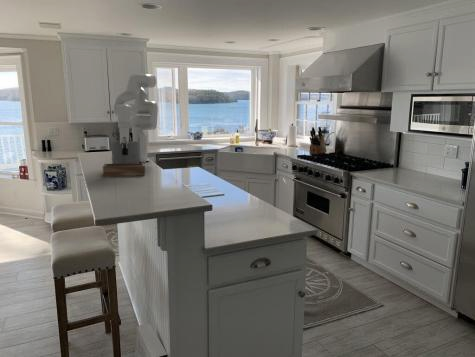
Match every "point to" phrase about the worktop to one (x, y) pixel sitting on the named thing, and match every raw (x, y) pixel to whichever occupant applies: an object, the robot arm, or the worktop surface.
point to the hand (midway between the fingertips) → (125, 153)
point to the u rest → (123, 169)
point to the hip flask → (121, 159)
